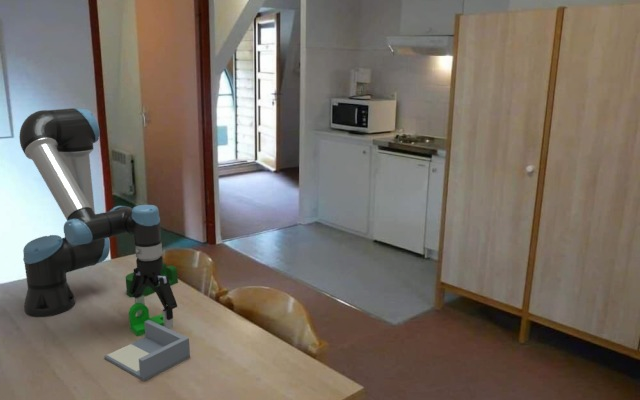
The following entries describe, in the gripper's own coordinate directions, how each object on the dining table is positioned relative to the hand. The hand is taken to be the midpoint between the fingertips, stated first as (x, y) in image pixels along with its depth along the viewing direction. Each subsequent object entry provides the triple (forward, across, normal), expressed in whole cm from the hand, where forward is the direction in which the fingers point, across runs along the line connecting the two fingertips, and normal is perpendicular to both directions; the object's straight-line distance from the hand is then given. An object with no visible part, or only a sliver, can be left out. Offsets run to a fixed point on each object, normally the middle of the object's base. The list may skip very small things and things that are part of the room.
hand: (154, 322), depth 167 cm
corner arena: (+2, +13, -12) cm, 18 cm away
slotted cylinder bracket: (+2, -27, +18) cm, 33 cm away
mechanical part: (+2, -2, 0) cm, 3 cm away
